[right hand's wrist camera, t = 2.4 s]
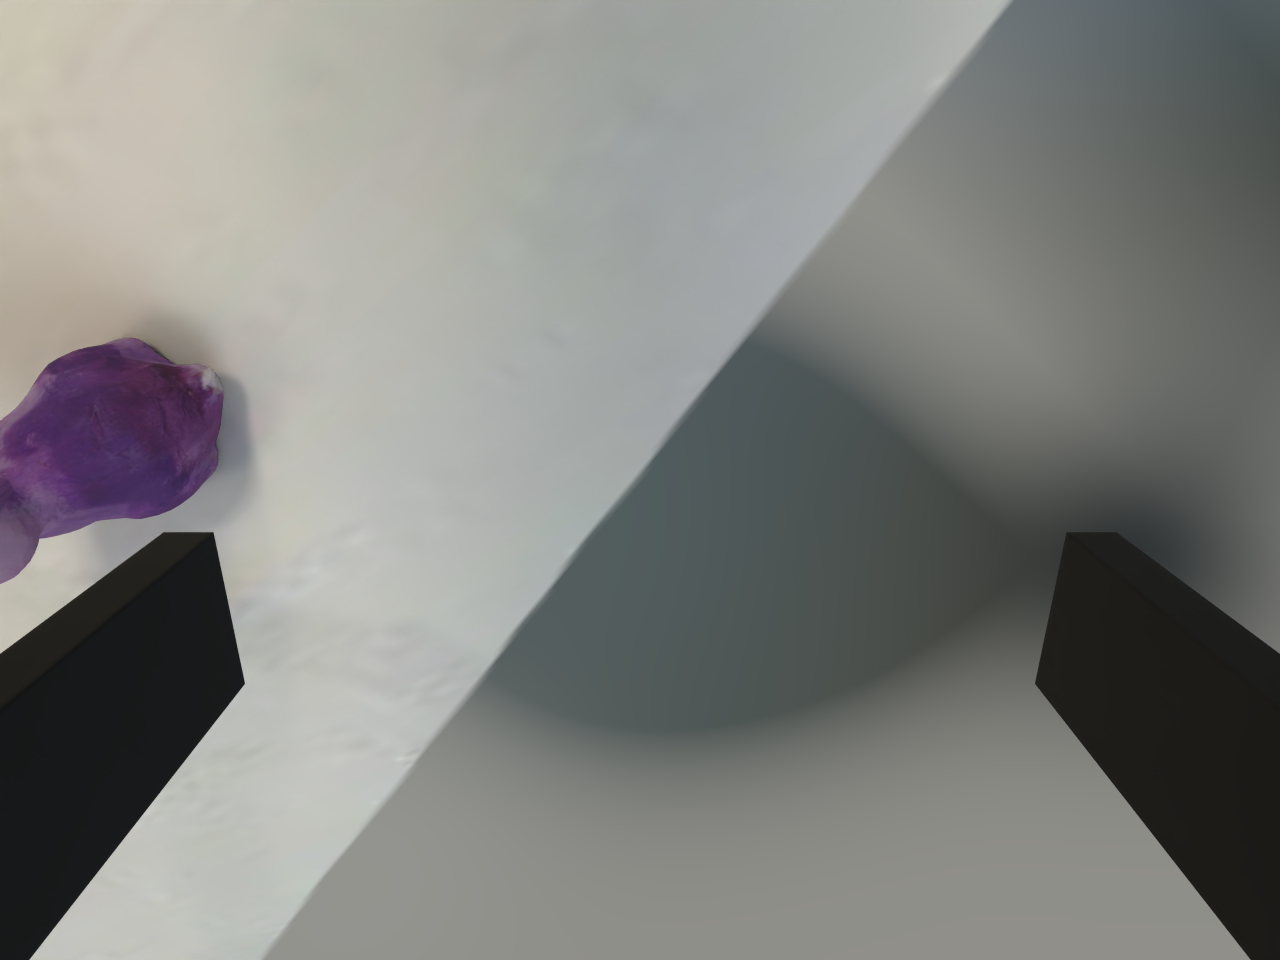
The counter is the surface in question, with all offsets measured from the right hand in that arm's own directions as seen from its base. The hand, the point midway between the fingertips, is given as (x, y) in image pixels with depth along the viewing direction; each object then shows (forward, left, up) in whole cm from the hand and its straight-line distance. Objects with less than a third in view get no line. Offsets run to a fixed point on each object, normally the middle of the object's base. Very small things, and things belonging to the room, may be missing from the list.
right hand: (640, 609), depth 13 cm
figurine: (+6, -25, -28) cm, 38 cm away
